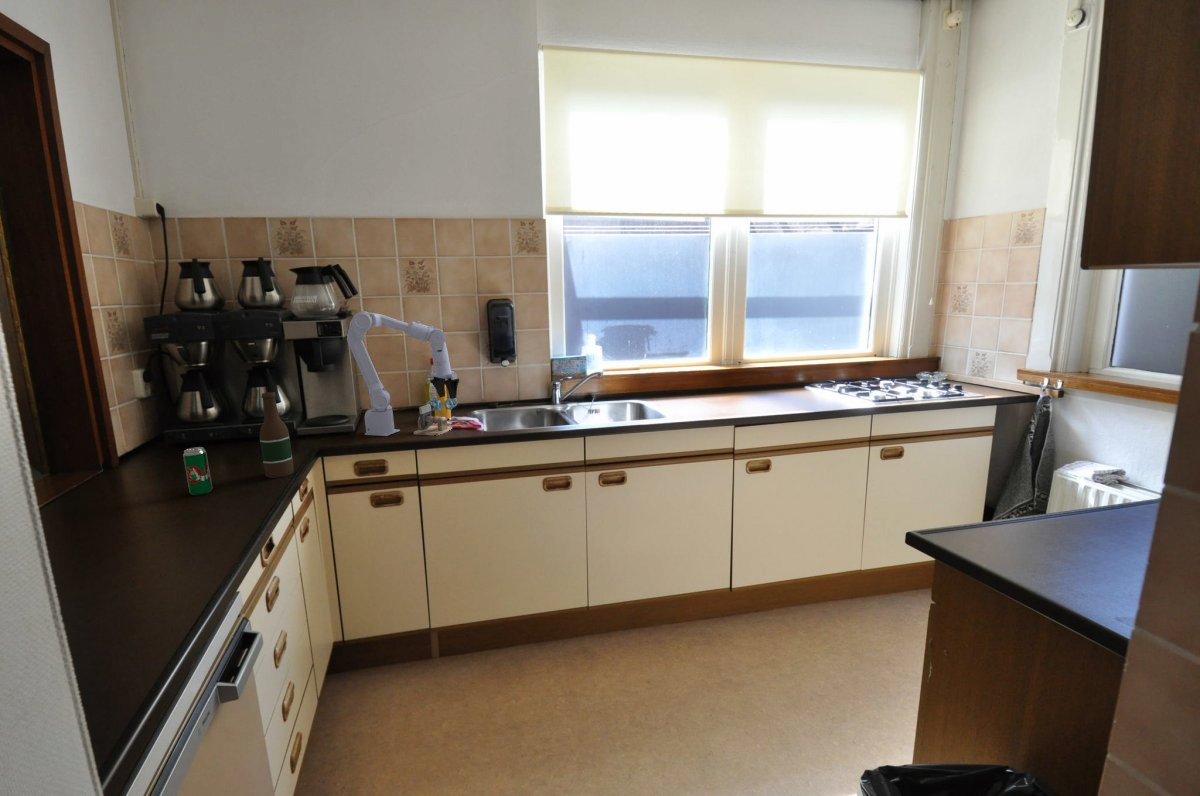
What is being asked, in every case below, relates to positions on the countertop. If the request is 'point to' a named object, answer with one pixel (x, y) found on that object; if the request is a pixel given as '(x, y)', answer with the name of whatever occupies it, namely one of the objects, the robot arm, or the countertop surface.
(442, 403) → the yellow blue ringed piece
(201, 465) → the soda can
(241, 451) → the countertop surface
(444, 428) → the pipe rig
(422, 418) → the grey bent plate
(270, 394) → the beer bottle
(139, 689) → the countertop surface
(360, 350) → the robot arm
